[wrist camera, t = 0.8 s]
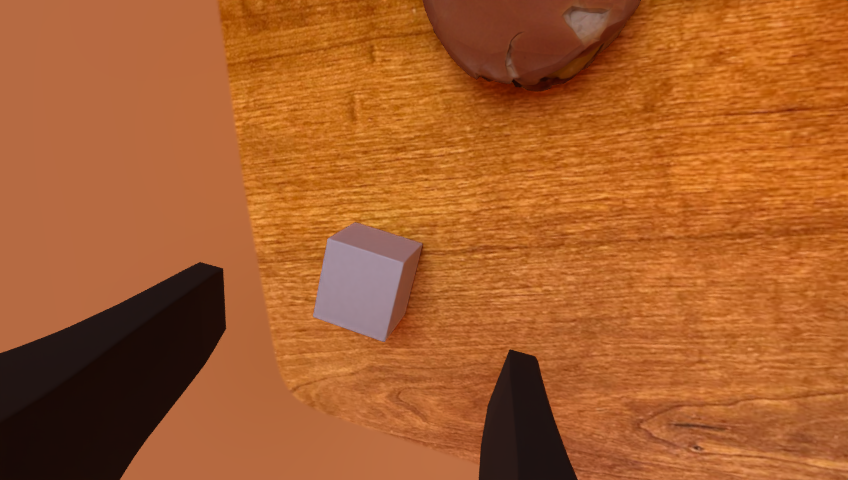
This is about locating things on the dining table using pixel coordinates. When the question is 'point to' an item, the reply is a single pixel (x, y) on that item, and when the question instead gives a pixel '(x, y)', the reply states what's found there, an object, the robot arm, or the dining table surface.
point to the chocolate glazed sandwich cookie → (527, 36)
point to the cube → (366, 280)
